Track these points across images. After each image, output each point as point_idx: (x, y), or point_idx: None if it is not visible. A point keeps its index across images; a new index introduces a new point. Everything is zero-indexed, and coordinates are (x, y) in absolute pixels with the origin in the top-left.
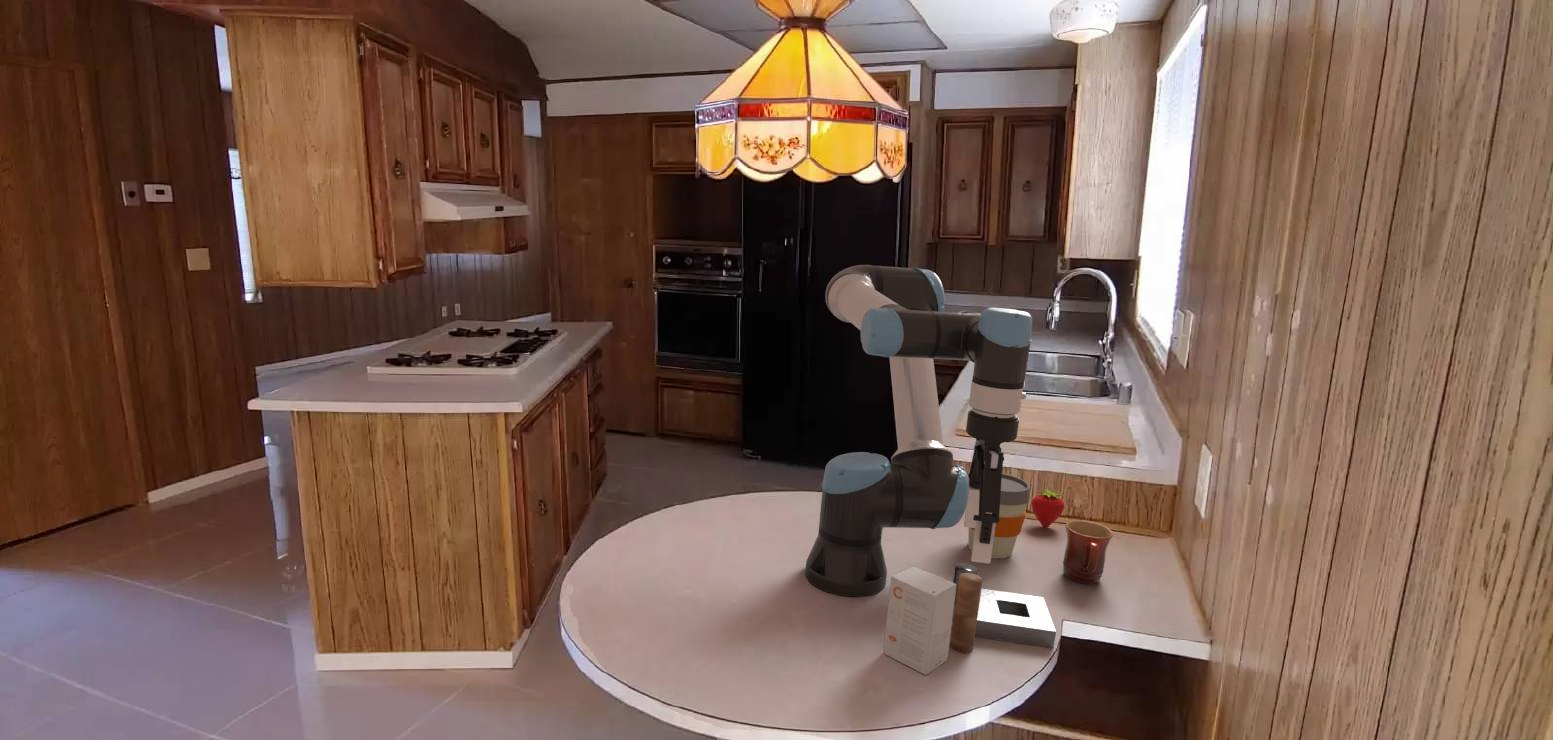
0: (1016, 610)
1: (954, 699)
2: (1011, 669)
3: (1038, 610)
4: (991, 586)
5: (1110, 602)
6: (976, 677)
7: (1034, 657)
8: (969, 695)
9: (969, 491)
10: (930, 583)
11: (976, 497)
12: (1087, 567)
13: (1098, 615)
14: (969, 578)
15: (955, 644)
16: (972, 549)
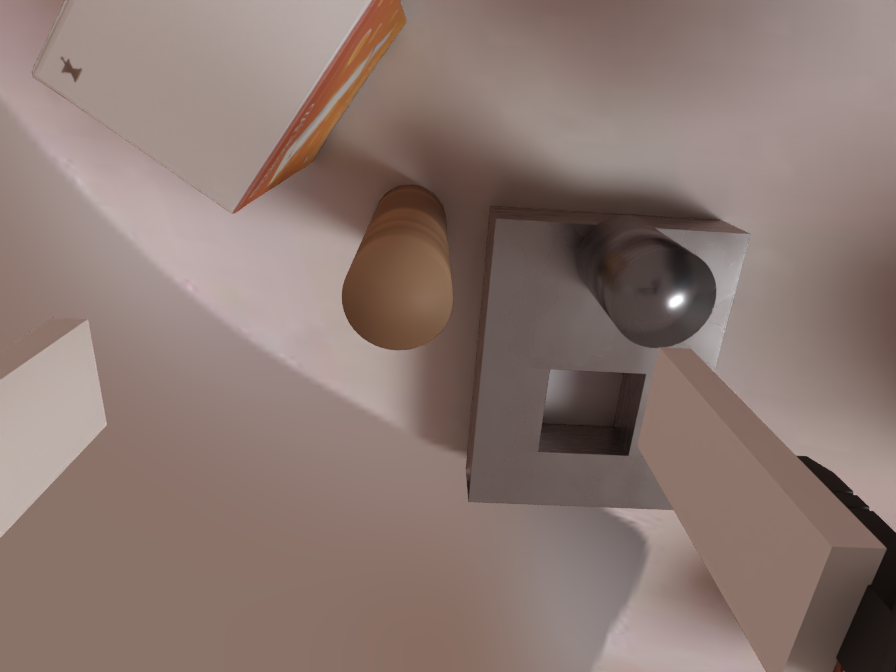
0: (625, 419)
1: (106, 159)
2: (326, 346)
3: (589, 482)
4: (825, 372)
5: (735, 644)
6: (250, 242)
7: (407, 416)
8: (146, 208)
9: (812, 533)
10: (172, 60)
11: (757, 556)
12: (835, 666)
13: (662, 604)
14: (390, 291)
15: (382, 199)
16: (38, 347)
